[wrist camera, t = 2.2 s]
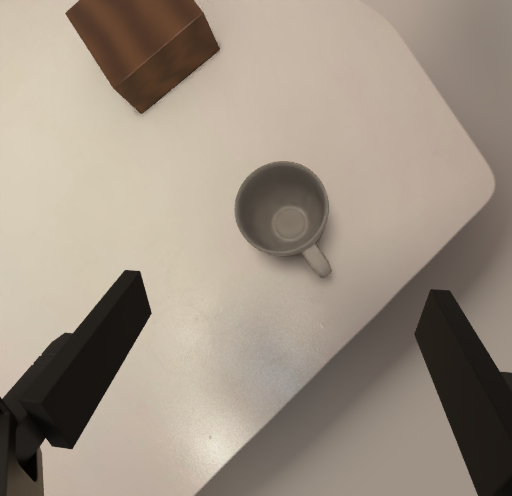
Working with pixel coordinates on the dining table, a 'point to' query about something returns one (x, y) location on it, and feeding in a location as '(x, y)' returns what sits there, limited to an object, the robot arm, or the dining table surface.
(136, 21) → the riser
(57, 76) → the dining table surface
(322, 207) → the mug
